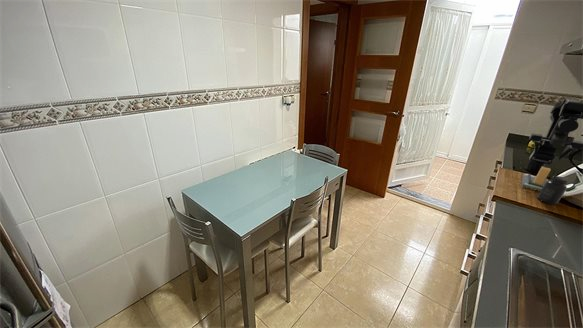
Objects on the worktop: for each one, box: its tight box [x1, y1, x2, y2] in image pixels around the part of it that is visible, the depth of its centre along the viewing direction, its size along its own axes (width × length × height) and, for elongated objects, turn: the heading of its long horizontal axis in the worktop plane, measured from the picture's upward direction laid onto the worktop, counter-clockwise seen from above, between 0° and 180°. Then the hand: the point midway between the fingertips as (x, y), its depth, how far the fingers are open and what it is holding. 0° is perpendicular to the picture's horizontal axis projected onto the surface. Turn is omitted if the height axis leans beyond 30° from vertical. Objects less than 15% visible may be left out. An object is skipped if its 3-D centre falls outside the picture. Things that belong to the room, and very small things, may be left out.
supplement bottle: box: [537, 175, 569, 205], centre depth 106 cm, size 7×7×12 cm
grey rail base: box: [521, 173, 550, 192], centre depth 121 cm, size 16×10×3 cm, turn 138°
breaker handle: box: [531, 166, 551, 188], centre depth 116 cm, size 4×4×9 cm
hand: (546, 156), depth 122 cm, fingers open, 9 cm apart
